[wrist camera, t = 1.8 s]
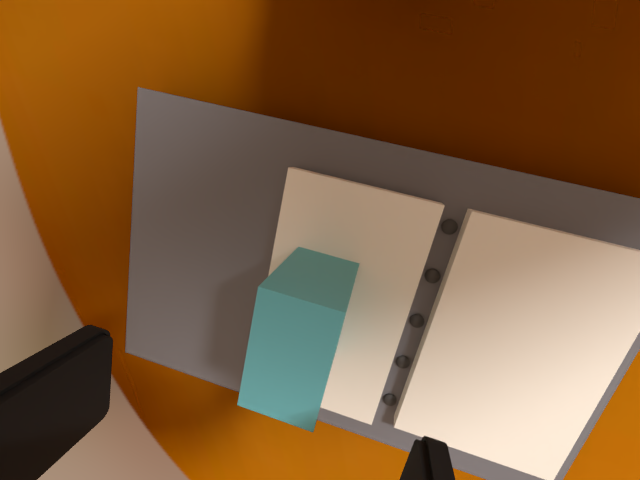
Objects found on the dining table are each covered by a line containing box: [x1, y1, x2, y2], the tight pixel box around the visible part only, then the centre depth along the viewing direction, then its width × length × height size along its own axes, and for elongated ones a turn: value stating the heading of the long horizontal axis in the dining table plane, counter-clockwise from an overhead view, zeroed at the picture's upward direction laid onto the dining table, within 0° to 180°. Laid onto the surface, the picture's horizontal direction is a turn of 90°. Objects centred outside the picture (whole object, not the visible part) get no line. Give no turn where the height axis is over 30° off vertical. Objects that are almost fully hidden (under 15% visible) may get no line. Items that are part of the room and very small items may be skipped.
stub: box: [237, 167, 445, 432], centre depth 14 cm, size 7×12×6 cm, turn 167°
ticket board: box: [125, 87, 640, 480], centre depth 17 cm, size 26×16×2 cm, turn 77°
